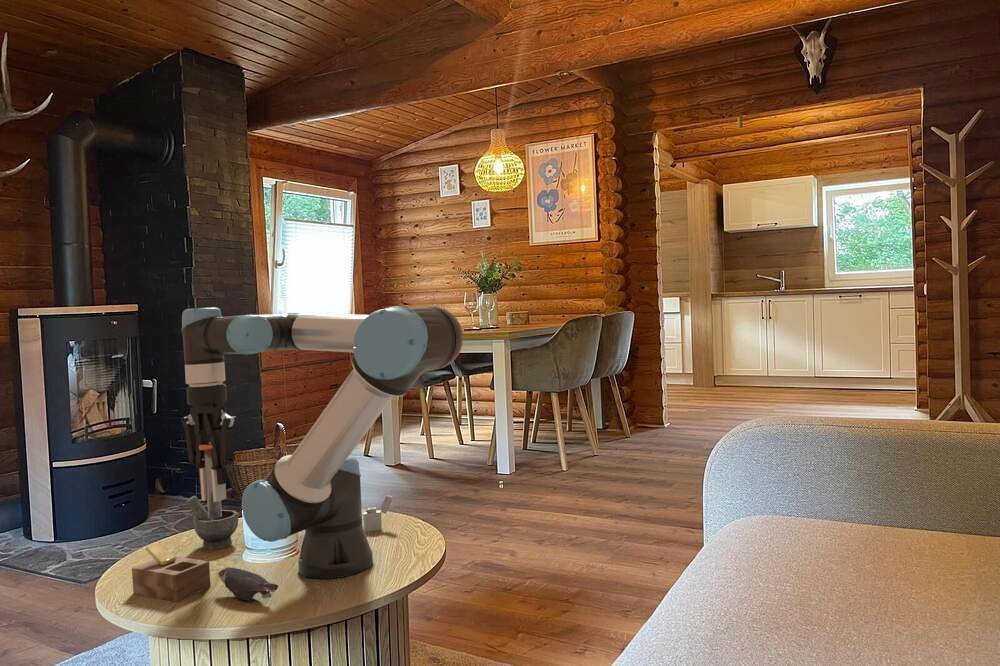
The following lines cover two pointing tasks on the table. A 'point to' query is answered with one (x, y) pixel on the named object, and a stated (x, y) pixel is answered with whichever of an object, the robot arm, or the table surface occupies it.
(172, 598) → the block
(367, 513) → the lighter
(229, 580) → the bird model
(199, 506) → the mortar and pestle
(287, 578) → the table surface
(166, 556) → the golden rectangular bar
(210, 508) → the red-capped peg
